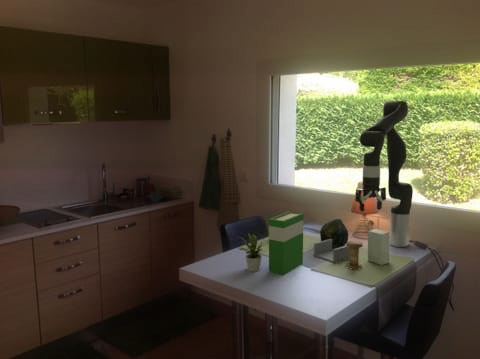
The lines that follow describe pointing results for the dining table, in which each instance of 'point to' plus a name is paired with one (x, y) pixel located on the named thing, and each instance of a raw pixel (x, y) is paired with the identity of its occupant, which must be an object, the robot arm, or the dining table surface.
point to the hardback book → (285, 243)
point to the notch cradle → (330, 251)
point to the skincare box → (378, 246)
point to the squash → (334, 232)
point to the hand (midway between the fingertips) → (370, 210)
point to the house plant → (253, 254)
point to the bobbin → (354, 254)
